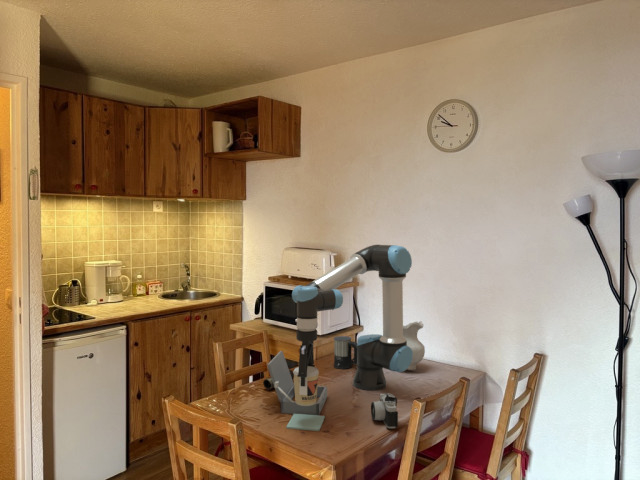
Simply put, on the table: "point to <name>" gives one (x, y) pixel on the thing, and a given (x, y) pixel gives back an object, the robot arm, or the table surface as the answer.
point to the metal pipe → (269, 383)
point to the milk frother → (344, 352)
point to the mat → (306, 422)
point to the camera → (385, 410)
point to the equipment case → (291, 389)
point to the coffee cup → (311, 387)
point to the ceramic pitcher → (414, 343)
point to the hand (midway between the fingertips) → (306, 389)
